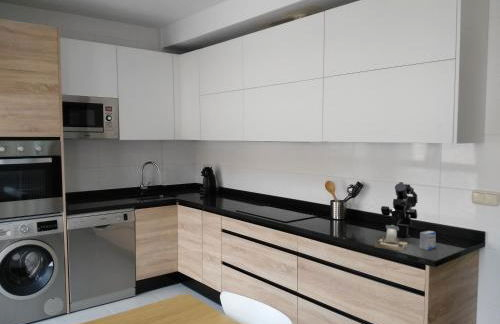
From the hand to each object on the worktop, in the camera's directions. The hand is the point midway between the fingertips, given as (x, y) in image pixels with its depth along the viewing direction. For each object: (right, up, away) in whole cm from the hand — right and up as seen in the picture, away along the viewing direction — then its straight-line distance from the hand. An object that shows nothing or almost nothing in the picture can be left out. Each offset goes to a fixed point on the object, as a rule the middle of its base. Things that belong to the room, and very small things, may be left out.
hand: (396, 224), depth 212 cm
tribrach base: (-5, -11, -7) cm, 14 cm away
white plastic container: (-6, -7, -8) cm, 13 cm away
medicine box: (+13, -11, -9) cm, 19 cm away
